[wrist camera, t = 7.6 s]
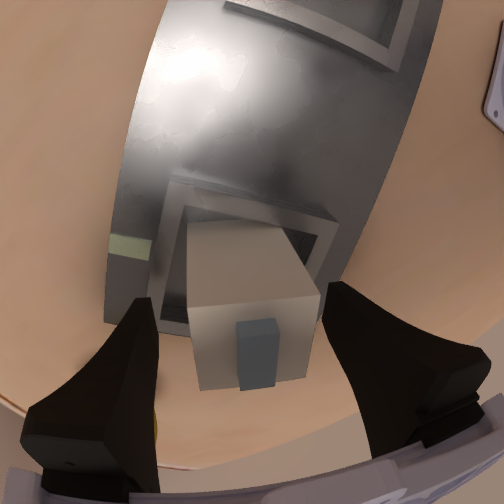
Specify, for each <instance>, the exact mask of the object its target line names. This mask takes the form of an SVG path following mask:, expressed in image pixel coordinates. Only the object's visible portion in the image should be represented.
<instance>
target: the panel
mask: <svg viewBox="0 0 504 504" xmlns="http://www.w3.org/2000/svg"><path fill="white" fill-rule="evenodd" d="M442 4H443V0H169V1H168V3H167V6H166V8H165V11H164V14H163V16H162V19H161V22H160V24H159V27H158V30H157V33H156V36H155V38H154V41H153V44H152V47H151V50H150V53H149V57H148V60H147V63H146V66H145V70H144V73H143V76H142V80H141V83H140V87H139V90H138V94H137V98H136V101H135V105H134V109H133V113H132V117H131V121H130V126H129V130H128V134H127V139H126V143H125V148H124V153H123V158H122V163H121V168H120V174H119V179H118V185H117V191H116V197H115V204H114V210H113V217H112V225H111V233H110V238H109V247H108V260H107V272H106V285H105V301H104V323H109V324H114V325H118V324H119V322H120V321H121V319H122V318H123V316H124V315H125V313H126V312H127V310H128V308H129V307H130V305H131V304H132V302H133V300H134V299H135V298H142V297H151V301H152V306H153V311H154V316H155V321H156V325H157V330H158V332H159V333H165V334H171V335H177V336H184V337H191V332H190V326H189V319H188V311H187V223H192V222H206V221H221V220H237V219H252V220H256V221H260V222H265V223H269V224H273V225H277V226H281V228H282V230H283V231H284V233H285V235H286V236H287V238H288V240H289V241H290V243H291V245H292V246H293V248H294V250H295V251H296V253H297V255H298V256H299V258H300V260H301V262H302V263H303V265H304V267H305V268H306V270H307V272H308V273H309V275H310V277H311V279H312V280H313V282H314V284H315V286H316V287H317V289H318V291H319V293H320V294H321V297H320V303H319V308H318V314H317V320H316V323H317V321H318V320H319V318H320V316H321V314H322V312H323V310H324V305H325V300H326V294H327V289H328V283H329V282H337V281H339V279H340V277H341V275H342V273H343V271H344V269H345V267H346V265H347V263H348V260H349V258H350V256H351V254H352V252H353V250H354V248H355V246H356V244H357V241H358V239H359V237H360V235H361V233H362V231H363V228H364V226H365V224H366V222H367V219H368V217H369V215H370V213H371V210H372V208H373V206H374V204H375V201H376V199H377V197H378V194H379V192H380V189H381V187H382V185H383V182H384V180H385V177H386V175H387V172H388V170H389V168H390V165H391V163H392V160H393V157H394V155H395V152H396V150H397V147H398V144H399V142H400V139H401V137H402V134H403V131H404V128H405V126H406V123H407V120H408V117H409V115H410V112H411V109H412V106H413V103H414V100H415V97H416V94H417V91H418V88H419V85H420V82H421V79H422V76H423V73H424V69H425V66H426V63H427V59H428V56H429V53H430V49H431V46H432V42H433V39H434V35H435V31H436V28H437V24H438V20H439V16H440V12H441V8H442Z"/></svg>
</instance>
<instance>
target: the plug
mask: <svg viewBox="0 0 504 504" xmlns="http://www.w3.org/2000/svg"><path fill="white" fill-rule="evenodd" d="M320 297H321V294H320V293H319V291H318V289H317V287H316V286H315V284H314V282H313V280H312V279H311V277H310V275H309V273H308V272H307V270H306V268H305V267H304V265H303V263H302V262H301V260H300V258H299V256H298V255H297V253H296V251H295V250H294V248H293V246H292V245H291V243H290V241H289V240H288V238H287V236H286V235H285V233H284V231H283V230H282V228H281V226H277V225H273V224H269V223H265V222H260V221H256V220H252V219H237V220H221V221H206V222H192V223H187V311H188V319H189V326H190V332H191V339H192V346H193V352H194V358H195V364H196V370H197V376H198V382H199V387H200V391H204V390H216V389H226V388H235V387H240V391H245V390H253V389H260V388H267V387H274V386H275V382H281V381H287V380H294V379H300V378H305V377H306V372H307V367H308V362H309V357H310V352H311V347H312V342H313V337H314V331H315V326H316V320H317V314H318V308H319V303H320Z"/></svg>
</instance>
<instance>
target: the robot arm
mask: <svg viewBox="0 0 504 504" xmlns="http://www.w3.org/2000/svg"><path fill="white" fill-rule="evenodd" d="M484 113H485V115H486V116H487V117H488V118H489V119H490V120H491V121H492V122H493V123H494V124H495V125H497V126H498V127H499V128H500V129H501V130H502V131H503V132H504V21H503V26H502V32H501V38H500V43H499V48H498V53H497V58H496V62H495V66H494V71H493V75H492V79H491V83H490V87H489V90H488V94H487V98H486V101H485V104H484ZM322 323H323V326H324V329H325V332H326V335H327V337H328V340H329V342H330V344H331V346H332V348H333V350H334V352H335V354H336V356H337V358H338V360H339V362H340V364H341V366H342V368H343V370H344V372H345V374H346V376H347V378H348V380H349V382H350V384H351V387H352V389H353V392H354V395H355V398H356V400H357V403H358V406H359V410H360V413H361V416H362V419H363V423H364V426H365V430H366V434H367V438H368V441H369V446H370V451H371V456H372V459H371V460H368V461H365V462H362V463H358V464H355V465H352V466H349V467H345V468H342V469H339V470H334V471H331V472H327V473H323V474H319V475H315V476H311V477H306V478H301V479H297V480H292V481H287V482H281V483H276V484H270V485H264V486H257V487H250V488H243V489H234V490H224V491H212V492H198V493H161V492H160V485H159V478H158V469H157V459H156V448H155V433H154V399H155V389H156V379H157V370H158V360H159V334H158V330H157V325H156V321H155V316H154V311H153V306H152V301H151V297H142V298H135V299H134V300H133V302H132V304H131V305H130V307H129V308H128V310H127V312H126V313H125V315H124V316H123V318H122V319H121V321H120V322H119V324H118V325H117V327H116V328H115V330H114V331H113V332H112V334H111V335H110V337H109V338H108V339H107V340H106V342H105V343H104V344H103V346H102V347H101V348H100V349H99V351H98V352H97V353H96V354H95V355H94V356H93V358H92V359H91V360H90V361H89V362H88V363H87V364H86V365H85V366H84V367H83V368H82V369H81V370H80V371H79V372H77V373H76V374H75V375H74V376H73V377H72V378H71V379H70V380H69V381H67V382H66V383H65V384H64V385H62V386H61V387H60V388H58V389H57V390H56V391H54V392H53V393H52V394H50V395H49V396H47V397H46V398H44V399H42V400H41V401H39V402H38V403H36V404H34V405H33V406H31V407H29V409H28V412H27V415H26V417H25V421H24V425H23V430H22V434H21V438H20V443H21V445H22V447H23V448H24V450H25V451H26V452H27V453H28V454H29V455H30V456H31V457H32V458H33V459H34V460H35V461H36V462H38V464H40V465H41V466H42V467H43V474H42V476H41V475H40V474H38V473H36V472H32V471H28V470H24V469H20V468H15V467H12V466H10V467H8V472H7V477H6V483H5V488H4V494H3V501H2V504H431V503H433V502H435V501H437V500H439V499H440V498H442V497H444V496H446V495H447V494H449V493H451V492H452V491H454V490H456V489H457V488H459V487H460V486H462V485H464V484H465V483H467V482H468V481H470V480H471V479H473V478H474V477H476V476H477V475H479V474H480V473H482V472H483V471H485V470H486V469H488V468H489V467H490V466H492V465H493V464H495V463H496V462H497V461H498V460H500V459H501V458H502V457H503V456H504V396H503V395H502V393H499V394H498V395H496V396H494V397H493V398H491V399H489V400H487V401H486V402H485V403H483V404H482V405H481V406H480V405H479V404H478V402H477V401H478V400H479V395H478V394H477V392H476V391H477V389H478V388H479V387H480V385H481V384H482V383H483V381H484V380H485V378H486V377H487V375H488V373H489V371H490V369H491V360H490V359H489V358H488V357H487V355H486V354H485V353H484V352H483V350H482V349H481V348H479V347H474V346H469V345H465V344H460V343H457V342H453V341H450V340H446V339H443V338H441V337H438V336H435V335H433V334H430V333H428V332H425V331H423V330H421V329H418V328H416V327H414V326H412V325H410V324H408V323H406V322H404V321H403V320H401V319H399V318H397V317H396V316H394V315H392V314H391V313H389V312H387V311H386V310H384V309H383V308H381V307H380V306H378V305H377V304H375V303H374V302H372V301H371V300H369V299H368V298H366V297H365V296H363V295H362V294H361V293H359V292H358V291H356V290H355V289H353V288H352V287H350V286H349V285H347V284H346V283H344V282H343V281H337V282H329V283H328V289H327V294H326V300H325V305H324V310H323V315H322Z"/></svg>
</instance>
